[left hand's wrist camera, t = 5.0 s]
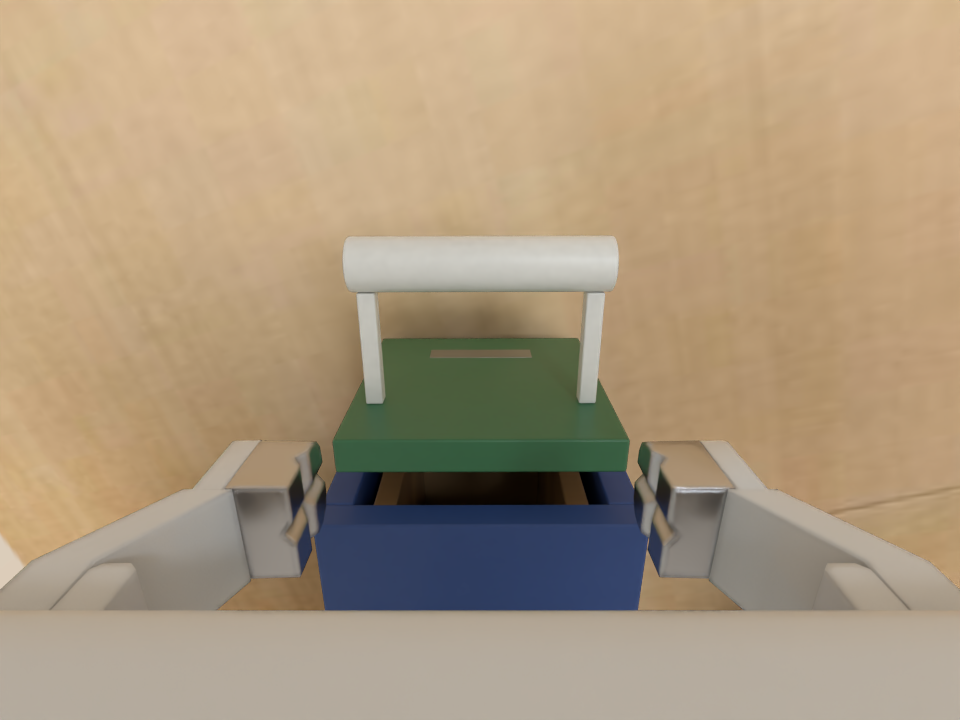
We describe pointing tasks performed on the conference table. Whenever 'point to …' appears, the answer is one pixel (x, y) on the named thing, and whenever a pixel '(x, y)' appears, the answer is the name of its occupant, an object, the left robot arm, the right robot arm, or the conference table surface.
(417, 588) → the cabinet
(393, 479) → the drawer
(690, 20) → the conference table surface
